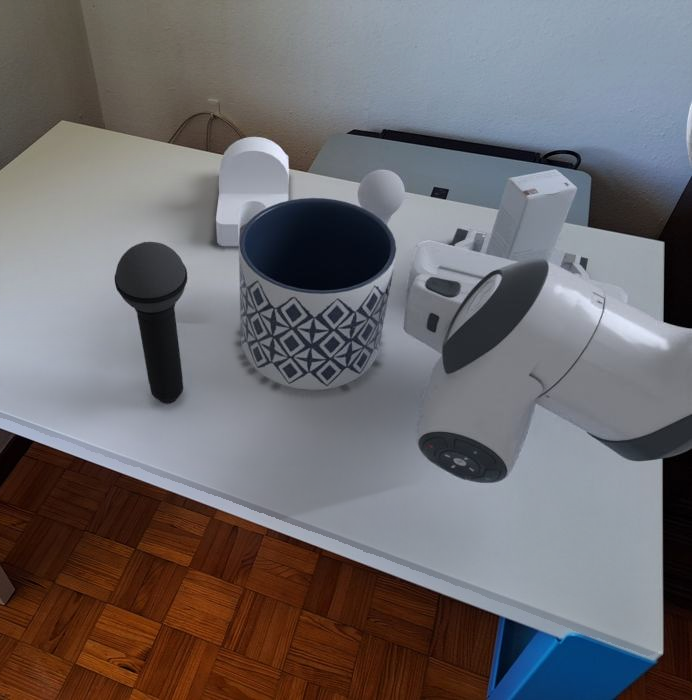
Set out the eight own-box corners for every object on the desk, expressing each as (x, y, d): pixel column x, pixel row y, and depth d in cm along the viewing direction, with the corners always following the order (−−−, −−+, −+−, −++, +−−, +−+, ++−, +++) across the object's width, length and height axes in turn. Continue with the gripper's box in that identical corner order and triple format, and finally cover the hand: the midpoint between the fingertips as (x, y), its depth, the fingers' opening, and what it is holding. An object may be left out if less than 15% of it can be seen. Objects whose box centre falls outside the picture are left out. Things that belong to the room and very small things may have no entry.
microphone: (152, 367, 77) (129, 221, 63) (207, 381, 76) (195, 234, 61) (127, 411, 73) (96, 264, 59) (184, 426, 71) (166, 279, 57)
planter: (387, 393, 74) (409, 293, 63) (240, 393, 74) (237, 294, 64) (369, 295, 85) (385, 195, 74) (241, 296, 85) (239, 198, 75)
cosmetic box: (525, 253, 84) (556, 165, 75) (546, 275, 81) (581, 187, 72) (479, 262, 83) (505, 174, 74) (499, 285, 80) (528, 197, 71)
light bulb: (372, 219, 96) (381, 155, 88) (405, 238, 92) (418, 173, 85) (343, 236, 93) (350, 172, 86) (376, 257, 90) (386, 191, 83)
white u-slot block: (216, 246, 93) (213, 180, 85) (225, 173, 105) (222, 111, 98) (287, 246, 92) (290, 180, 85) (287, 174, 104) (290, 111, 97)
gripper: (634, 341, 58) (643, 248, 66) (397, 278, 64) (433, 201, 73) (606, 389, 62) (619, 297, 71) (387, 326, 69) (423, 248, 77)
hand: (523, 248), depth 72 cm, fingers open, 8 cm apart
